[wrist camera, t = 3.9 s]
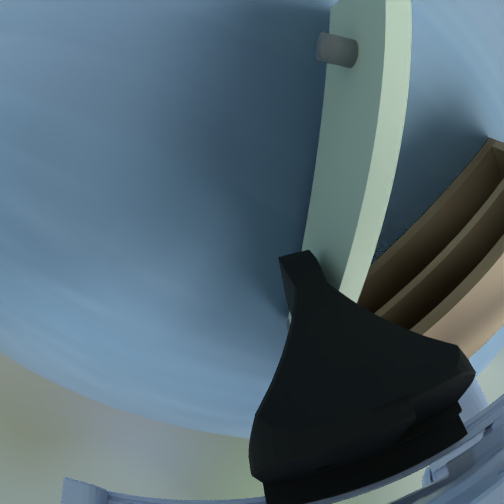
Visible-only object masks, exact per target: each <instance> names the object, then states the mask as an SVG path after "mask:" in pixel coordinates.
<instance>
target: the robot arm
mask: <svg viewBox="0 0 504 504" xmlns="http://www.w3.org/2000/svg"><path fill="white" fill-rule="evenodd" d="M279 262H280V268H281V273H282V278H283V283H284V289H285V294H286V299H287V303H288V306H289V310H290V314H291V317H292V318H291V323H290V328H289V332H288V336H287V340H286V343H285V347H284V350H283V353H282V356H281V359H280V362H279V364H278V367H277V369H276V372H275V374H274V377H273V379H272V382H271V384H270V386H269V388H268V390H267V392H266V394H265V396H264V398H263V400H262V402H261V404H260V406H259V408H258V410H257V412H256V414H255V418H254V422H253V427H252V431H251V436H250V442H249V462H250V470H251V474H252V476H253V477H255V478H256V479H258V480H259V481H261V482H262V483H263V486H264V493H265V496H264V497H255V498H245V499H234V500H209V501H208V500H207V501H205V500H203V501H202V500H198V501H197V500H195V501H194V500H171V499H158V498H149V497H140V496H133V495H127V494H121V493H115V492H110V491H107V490H106V489H103V488H100V487H98V486H95V485H92V484H88V483H84V482H81V481H77V480H74V479H70V478H67V477H65V478H64V482H63V490H62V501H61V504H332V503H335V502H339V501H342V500H346V499H349V498H352V497H355V496H358V495H361V494H364V493H367V492H370V491H372V490H375V489H378V488H380V487H383V486H385V485H388V484H390V483H392V482H395V481H397V480H400V479H402V478H404V477H406V476H408V475H410V474H412V473H414V472H416V471H418V470H420V469H422V468H424V467H426V466H428V465H429V467H428V468H427V469H426V470H425V473H424V475H423V479H422V486H423V488H421V489H419V490H417V491H415V492H412V493H411V494H408V495H406V496H404V497H401V498H399V499H397V500H394V501H393V502H390V503H387V504H504V394H503V395H502V396H501V397H499V398H498V399H497V400H496V401H494V402H493V403H492V404H489V402H488V400H487V398H486V396H485V395H484V393H483V391H482V389H481V387H480V386H479V384H478V382H477V380H476V379H475V374H476V372H475V370H474V369H473V367H472V365H471V364H470V362H469V360H468V359H467V357H466V355H465V354H464V353H463V352H462V350H461V349H460V348H459V347H458V345H455V344H451V343H448V342H444V341H440V340H437V339H433V338H430V337H427V336H424V335H421V334H418V333H416V332H413V331H410V330H408V329H405V328H403V327H401V326H398V325H396V324H394V323H392V322H390V321H388V320H386V319H384V318H381V317H379V316H378V315H376V314H374V313H372V312H370V311H369V310H367V309H365V308H364V307H362V306H360V305H359V304H357V303H356V302H354V301H352V300H351V299H350V298H348V297H347V296H345V295H344V294H342V293H341V292H340V291H338V290H337V289H336V288H334V287H333V286H332V285H331V284H329V283H328V282H327V280H326V278H325V276H324V273H323V271H322V269H321V267H320V264H319V262H318V260H317V258H316V257H315V256H314V254H313V253H312V252H311V251H310V250H305V251H301V252H297V253H293V254H289V255H285V256H281V257H279Z"/></svg>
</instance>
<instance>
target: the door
mask: <svg viewBox="0 0 504 504" xmlns="http://www.w3.org/2000/svg"><path fill="white" fill-rule="evenodd" d="M411 39H412V16H411V0H340V1H338V2H337V3H336V4H334V5H333V6H332V7H331V8H330V27H329V33H326V32H321V33H320V34H319V35H318V37H317V40H316V45H315V58H316V60H317V61H319V62H324V63H327V69H326V80H325V90H324V100H323V109H322V118H321V126H320V134H319V142H318V150H317V157H316V164H315V172H314V178H313V185H312V192H311V198H310V204H309V210H308V216H307V222H306V228H305V234H304V240H303V245H302V251H305V250H310V251H311V252H312V253H313V254H314V256H315V257H316V258H317V260H318V262H319V264H320V267H321V269H322V271H323V273H324V276H325V278H326V280H327V282H328V283H329V284H331V285H332V286H333V287H334V288H336V289H337V290H338V291H340V292H341V293H342V294H344V295H345V296H347V297H348V298H350V299H351V300H352V301H354V302H356V303H357V301H358V299H359V296H360V293H361V290H362V288H363V285H364V282H365V279H366V276H367V273H368V270H369V267H370V264H371V261H372V258H373V255H374V252H375V249H376V245H377V242H378V239H379V235H380V232H381V228H382V225H383V221H384V217H385V214H386V210H387V206H388V202H389V198H390V194H391V190H392V185H393V181H394V176H395V172H396V167H397V162H398V157H399V152H400V146H401V140H402V134H403V128H404V121H405V114H406V107H407V98H408V89H409V78H410V64H411ZM288 318H289V320H288V322H287V324H286V325H287V329H288V332H289V328H290V323H291V318H292V317H291V314H290V311H289V316H288Z"/></svg>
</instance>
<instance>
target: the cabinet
mask: <svg viewBox="0 0 504 504" xmlns="http://www.w3.org/2000/svg"><path fill="white" fill-rule="evenodd" d="M357 304H359V305H360V306H362V307H364V308H365V309H367V310H369V311H370V312H372V313H374V314H376V315H378V316H379V317H381V318H384V319H386V320H388V321H390V322H392V323H394V324H396V325H398V326H401V327H403V328H405V329H408V330H410V331H413V332H416V333H418V334H421V335H424V336H427V337H430V338H433V339H437V340H440V341H444V342H448V343H451V344H455V345H458V347H459V348H460V349H461V350H462V352H463V353H464V354H465V355H466V357H467V359H469V358H470V357H471V356H472V355H473V354H474V353H476V352H477V351H478V350H479V349H480V348H481V347H482V346H483V345H484V344H485V343H486V342H487V341H488V340H489V339H490V338H491V337H492V336H493V335H494V334H495V333H496V332H497V331H498V330H499V329H500V328H501V327H502V326H503V325H504V143H503V142H500V141H497V140H495V139H492V138H489V139H488V140H487V141H486V143H485V144H484V145H483V147H482V148H481V149H480V150H479V152H478V153H477V154H476V155H475V157H474V158H473V159H472V160H471V161H470V163H469V164H468V165H467V166H466V167H465V169H464V170H463V171H462V172H461V173H460V174H459V176H458V177H457V178H456V179H455V180H454V181H453V183H452V184H451V185H450V186H449V187H448V188H447V189H446V190H445V192H444V193H443V194H442V195H441V196H440V197H439V198H438V199H437V200H436V201H435V202H434V203H433V205H432V206H431V207H430V208H429V209H428V210H427V211H426V212H425V213H424V214H423V215H422V216H421V217H420V218H419V219H418V220H417V221H416V222H415V223H414V224H413V225H412V226H411V227H410V228H409V229H408V230H407V231H406V232H405V233H404V234H403V235H402V236H401V237H400V238H399V239H398V240H397V241H396V242H395V243H394V244H393V245H392V246H391V247H390V248H389V249H388V250H387V251H386V252H384V253H383V254H382V255H381V256H380V257H379V258H378V259H377V260H376V261H375V262H374V263H373V264H371V265H370V267H369V270H368V273H367V276H366V279H365V282H364V285H363V288H362V290H361V293H360V296H359V299H358V301H357Z"/></svg>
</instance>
